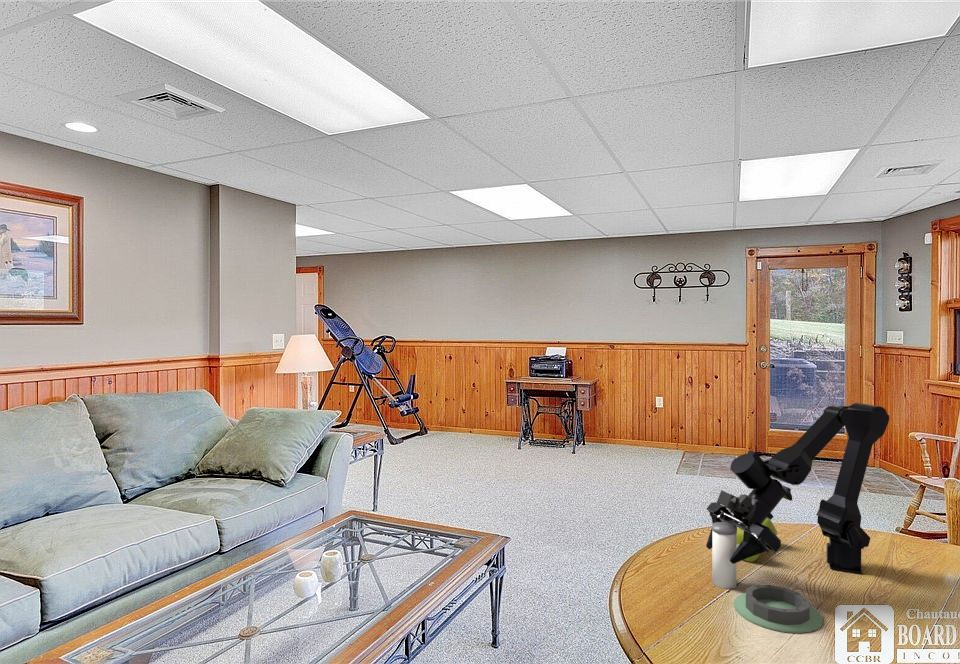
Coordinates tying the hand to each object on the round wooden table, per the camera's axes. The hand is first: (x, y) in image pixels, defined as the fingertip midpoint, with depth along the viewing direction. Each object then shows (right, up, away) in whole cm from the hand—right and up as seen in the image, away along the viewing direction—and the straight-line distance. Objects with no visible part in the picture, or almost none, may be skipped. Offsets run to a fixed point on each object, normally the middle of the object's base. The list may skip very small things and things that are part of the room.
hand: (719, 554), depth 131 cm
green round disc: (+7, -7, -12) cm, 16 cm away
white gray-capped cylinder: (+1, -7, +1) cm, 7 cm away
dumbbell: (+16, -6, +18) cm, 25 cm away
